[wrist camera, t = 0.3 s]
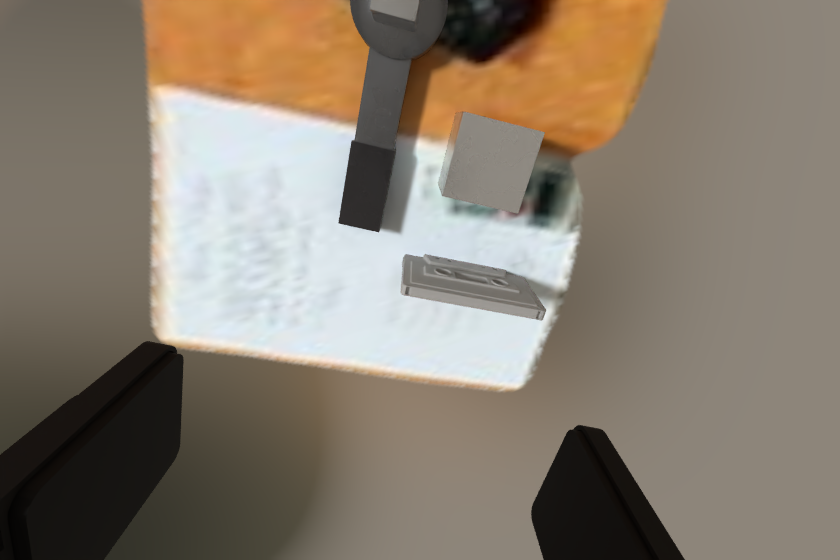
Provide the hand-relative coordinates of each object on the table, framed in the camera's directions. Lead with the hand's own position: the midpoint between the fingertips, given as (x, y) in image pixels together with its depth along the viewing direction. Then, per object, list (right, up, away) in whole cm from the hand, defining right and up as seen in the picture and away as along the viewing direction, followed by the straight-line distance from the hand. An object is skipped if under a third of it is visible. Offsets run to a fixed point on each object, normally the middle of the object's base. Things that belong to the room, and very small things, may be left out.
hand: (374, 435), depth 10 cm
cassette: (+5, +5, +29) cm, 30 cm away
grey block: (+6, +14, +25) cm, 30 cm away
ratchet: (-2, +19, +23) cm, 30 cm away
